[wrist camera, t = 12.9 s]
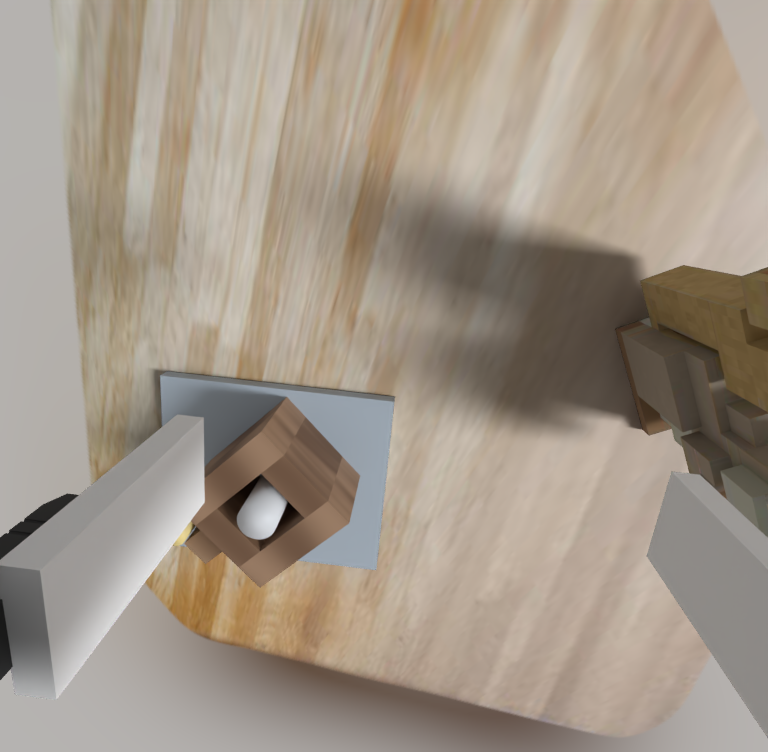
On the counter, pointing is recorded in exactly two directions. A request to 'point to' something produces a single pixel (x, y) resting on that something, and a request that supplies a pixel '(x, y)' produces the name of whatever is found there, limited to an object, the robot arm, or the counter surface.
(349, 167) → the counter surface
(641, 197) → the counter surface
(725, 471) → the toy
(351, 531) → the post board
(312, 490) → the tabbed square frame
